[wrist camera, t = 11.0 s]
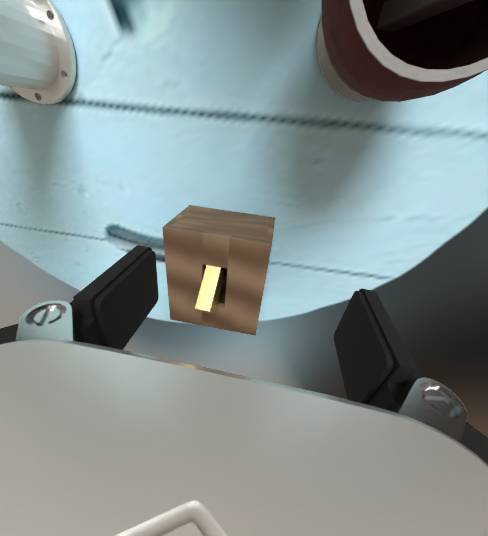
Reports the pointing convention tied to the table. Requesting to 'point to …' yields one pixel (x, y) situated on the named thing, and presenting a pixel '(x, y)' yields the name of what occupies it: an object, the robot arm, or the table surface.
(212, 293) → the golden flat plank
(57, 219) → the table surface
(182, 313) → the coin box
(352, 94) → the mate gourd
